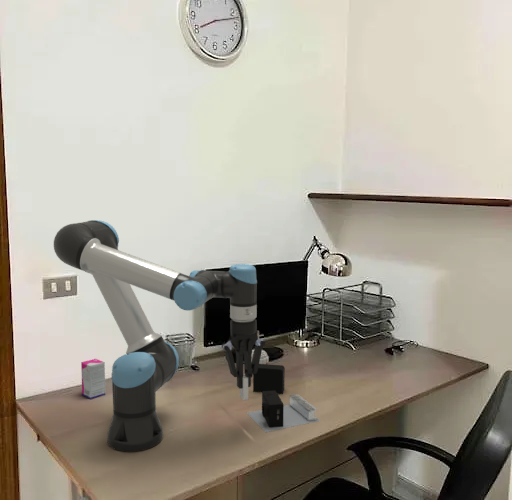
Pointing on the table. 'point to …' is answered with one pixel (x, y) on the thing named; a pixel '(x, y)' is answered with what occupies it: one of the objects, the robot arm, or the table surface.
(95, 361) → the supplement box
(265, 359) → the decorative ornament
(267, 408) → the digital camera
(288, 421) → the mounting plate
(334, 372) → the table surface
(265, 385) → the electronic device
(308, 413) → the rail
